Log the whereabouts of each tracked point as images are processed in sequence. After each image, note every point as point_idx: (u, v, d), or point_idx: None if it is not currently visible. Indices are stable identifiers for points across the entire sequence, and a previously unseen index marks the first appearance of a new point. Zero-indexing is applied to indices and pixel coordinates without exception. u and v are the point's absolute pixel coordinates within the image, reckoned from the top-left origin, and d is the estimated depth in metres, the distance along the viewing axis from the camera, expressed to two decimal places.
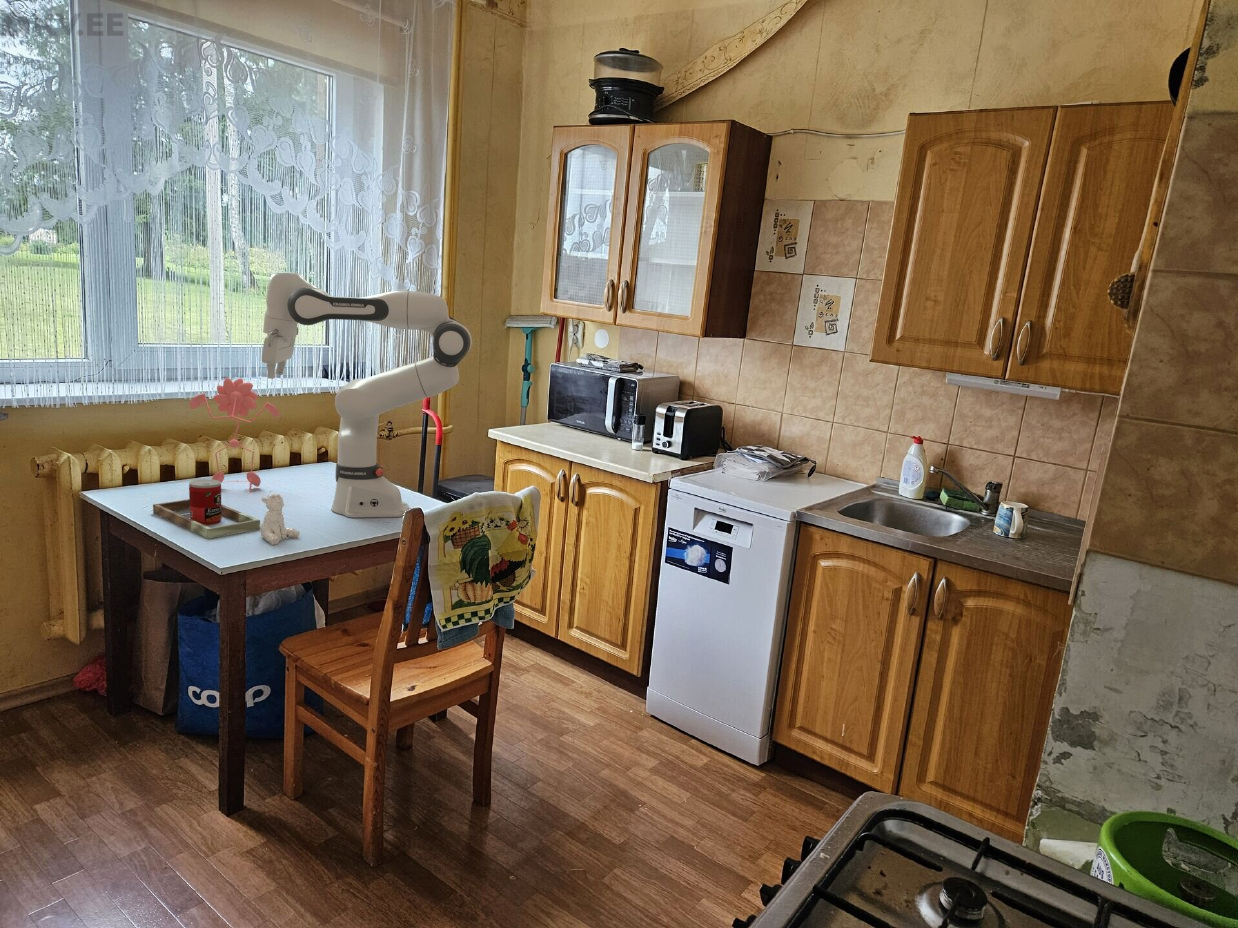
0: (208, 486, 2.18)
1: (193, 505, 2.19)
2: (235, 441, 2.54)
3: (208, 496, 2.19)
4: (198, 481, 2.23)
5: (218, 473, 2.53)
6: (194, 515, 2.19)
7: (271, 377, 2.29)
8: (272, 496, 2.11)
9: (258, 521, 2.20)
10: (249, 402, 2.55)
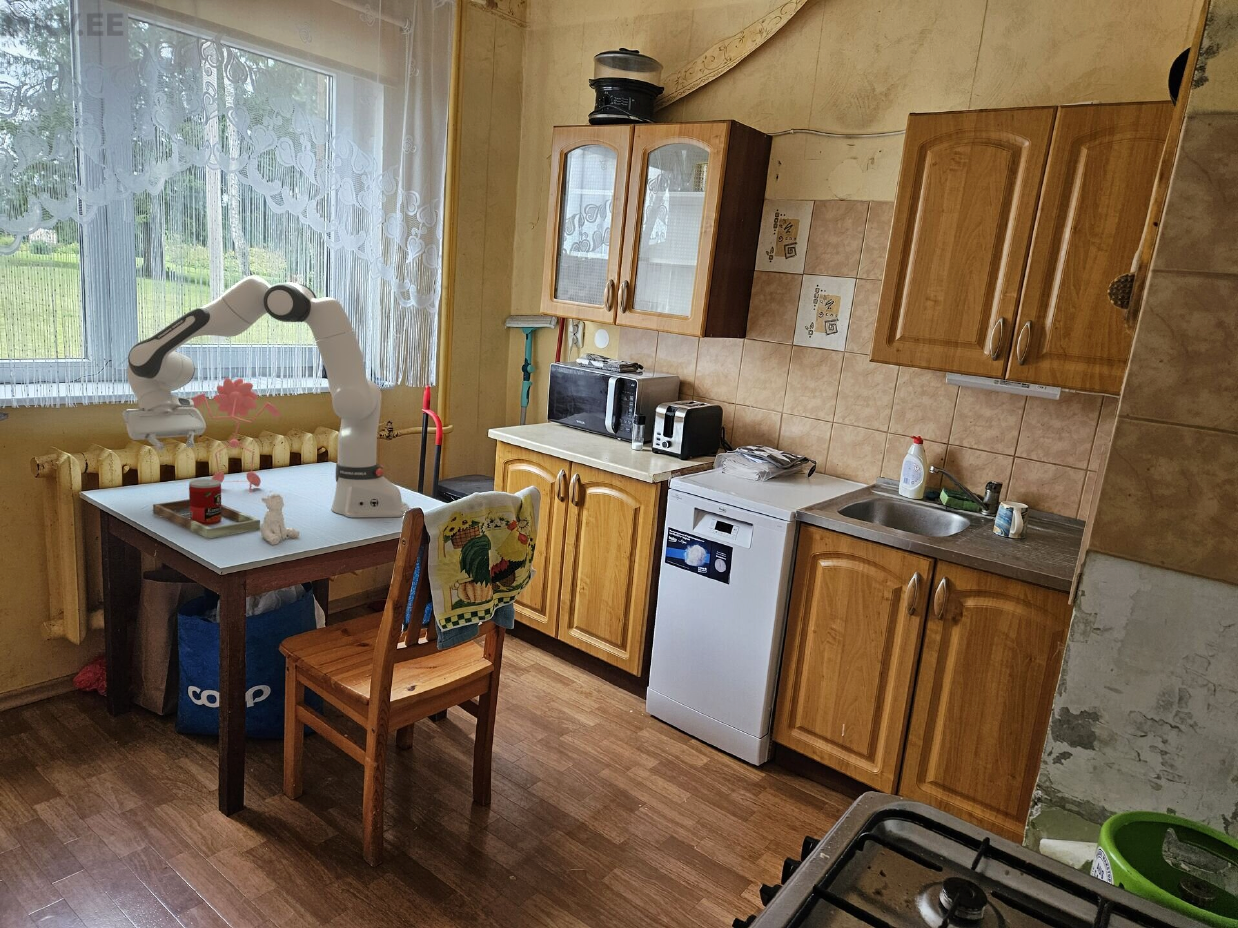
0: (208, 486, 2.18)
1: (193, 505, 2.19)
2: (235, 441, 2.54)
3: (208, 496, 2.19)
4: (198, 481, 2.23)
5: (218, 473, 2.53)
6: (194, 516, 2.19)
7: (158, 447, 2.25)
8: (272, 496, 2.11)
9: (258, 521, 2.20)
10: (249, 402, 2.55)
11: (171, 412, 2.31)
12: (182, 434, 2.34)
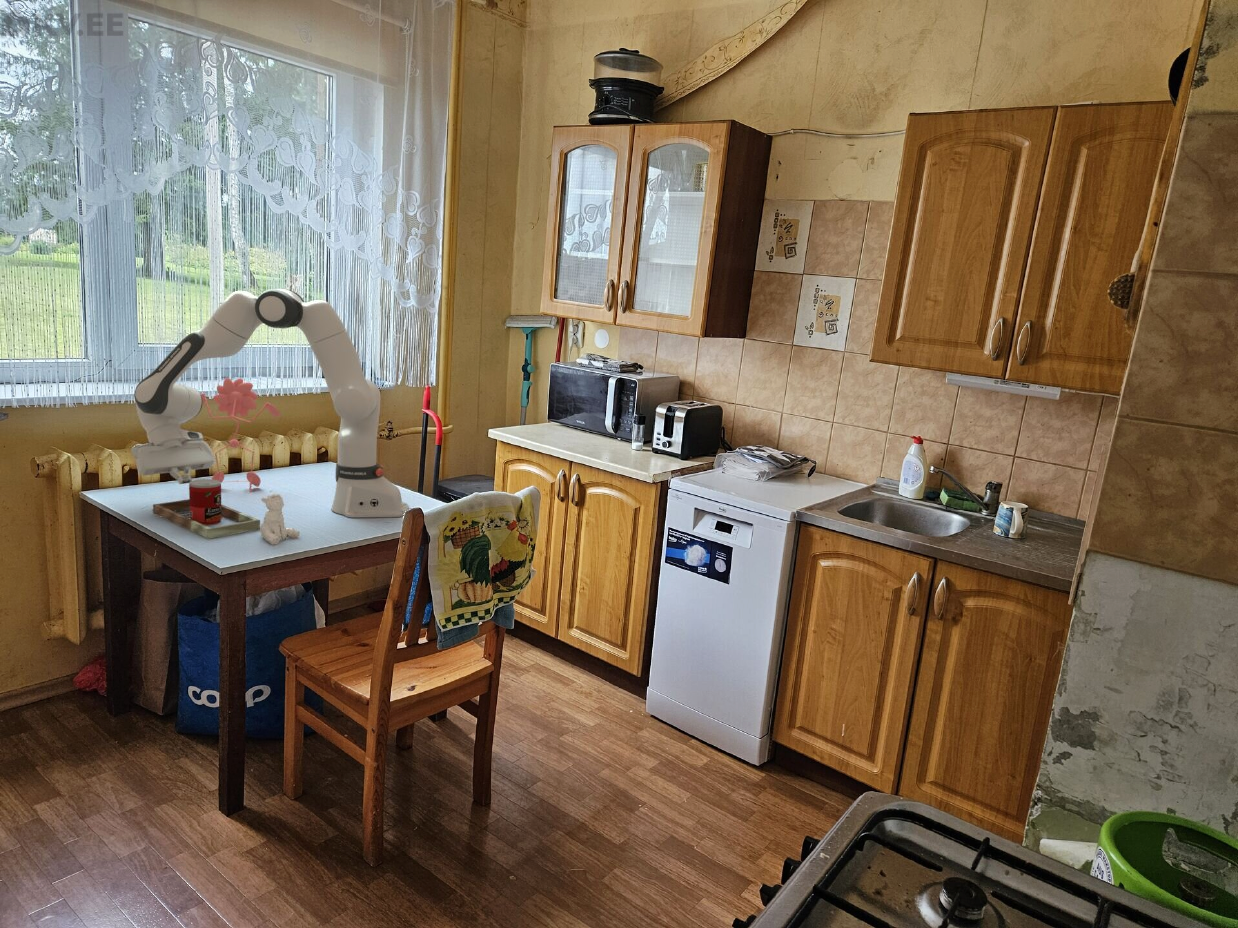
0: (208, 486, 2.18)
1: (193, 505, 2.19)
2: (235, 441, 2.54)
3: (208, 496, 2.19)
4: (198, 481, 2.23)
5: (218, 473, 2.53)
6: (194, 515, 2.19)
7: (180, 481, 2.27)
8: (272, 496, 2.11)
9: (258, 521, 2.20)
10: (249, 402, 2.55)
11: (180, 446, 2.31)
12: (191, 468, 2.33)
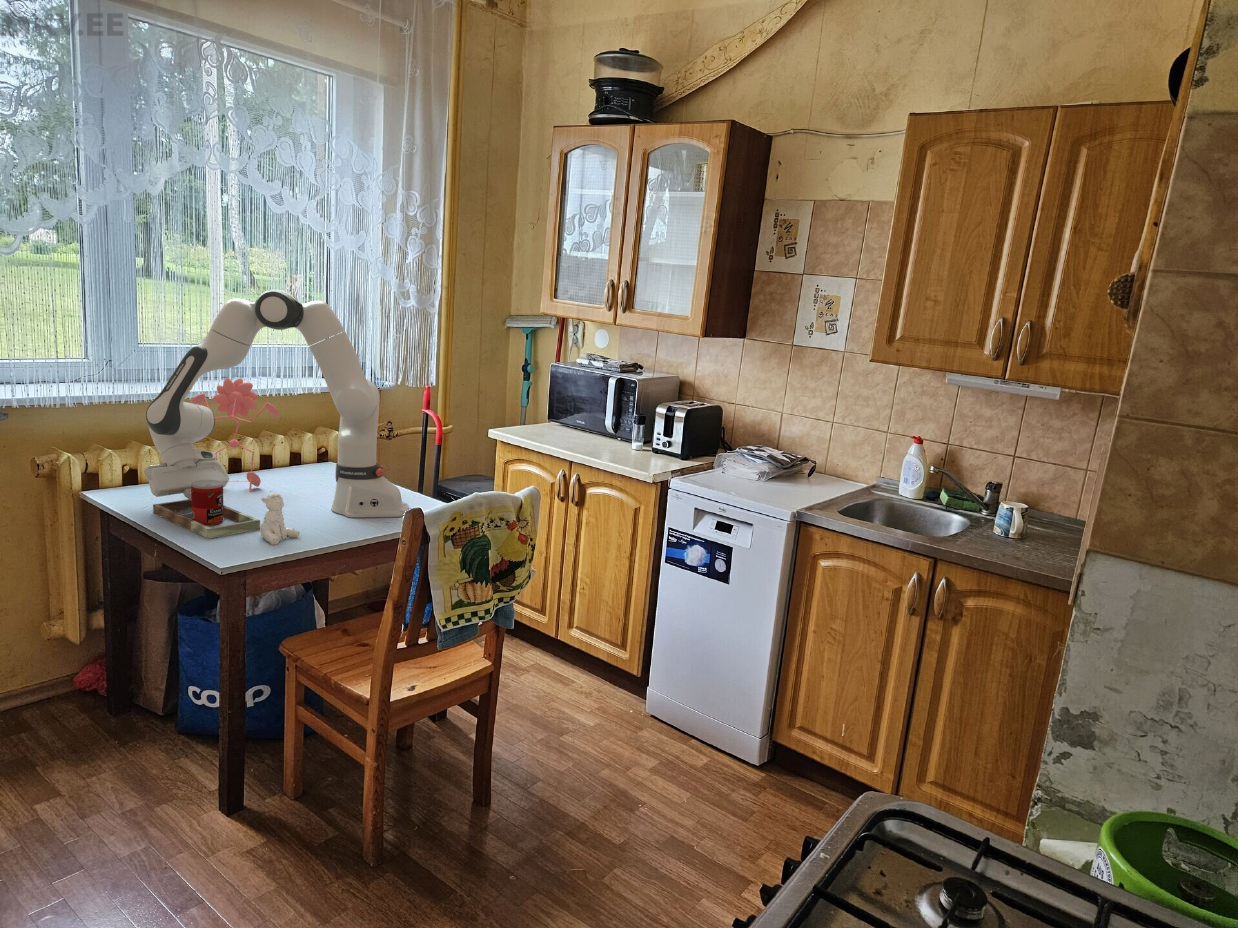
0: (210, 487, 2.18)
1: (195, 506, 2.18)
2: (235, 441, 2.54)
3: (210, 497, 2.18)
4: (200, 482, 2.22)
5: None
6: (196, 516, 2.19)
7: None
8: (272, 496, 2.11)
9: (258, 521, 2.20)
10: (249, 402, 2.55)
11: (194, 466, 2.27)
12: None
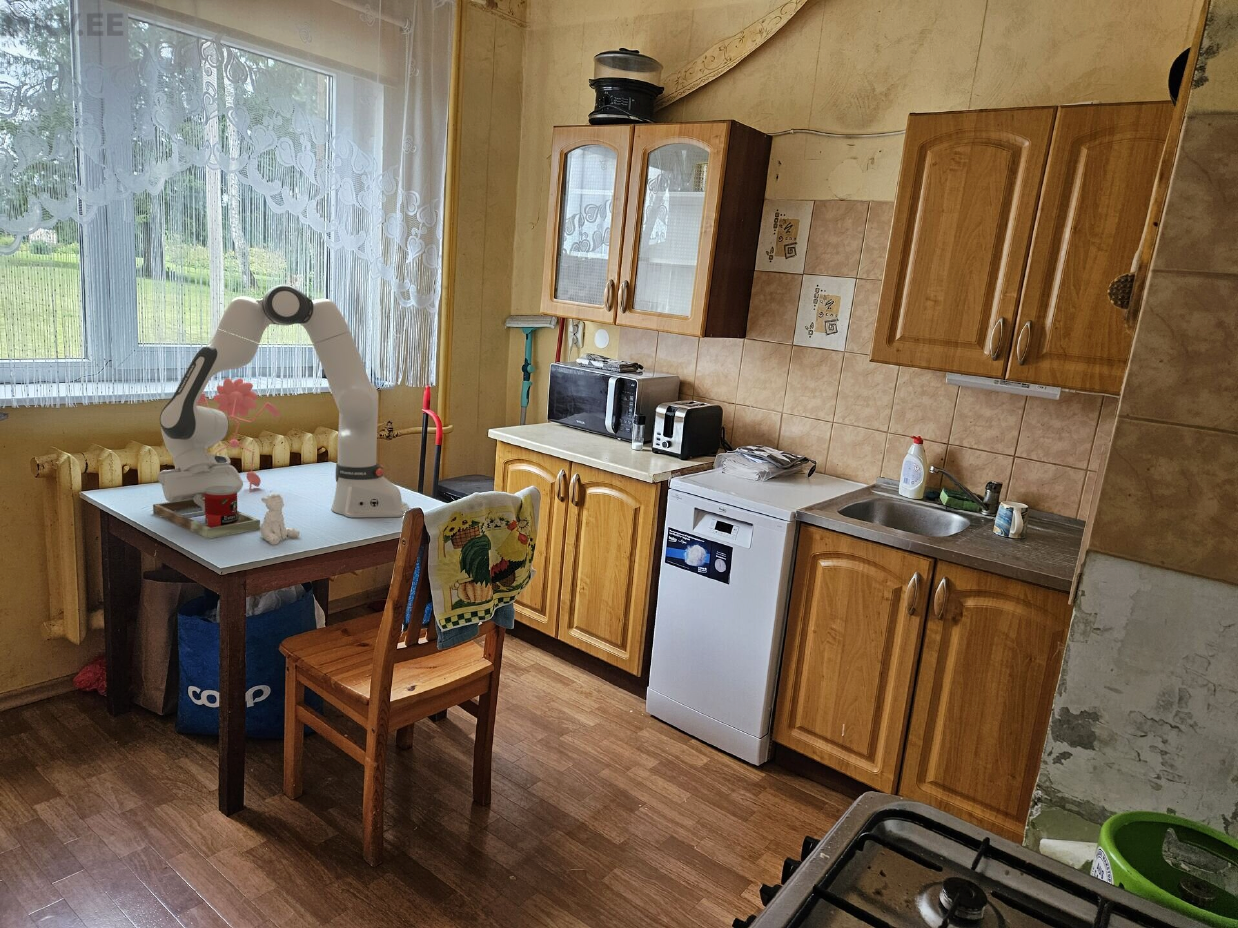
0: (224, 493, 2.13)
1: (209, 513, 2.14)
2: (235, 441, 2.54)
3: (224, 503, 2.14)
4: (214, 488, 2.17)
5: None
6: (210, 523, 2.14)
7: (204, 508, 2.18)
8: (272, 496, 2.11)
9: (258, 521, 2.20)
10: (249, 402, 2.55)
11: (208, 471, 2.23)
12: None
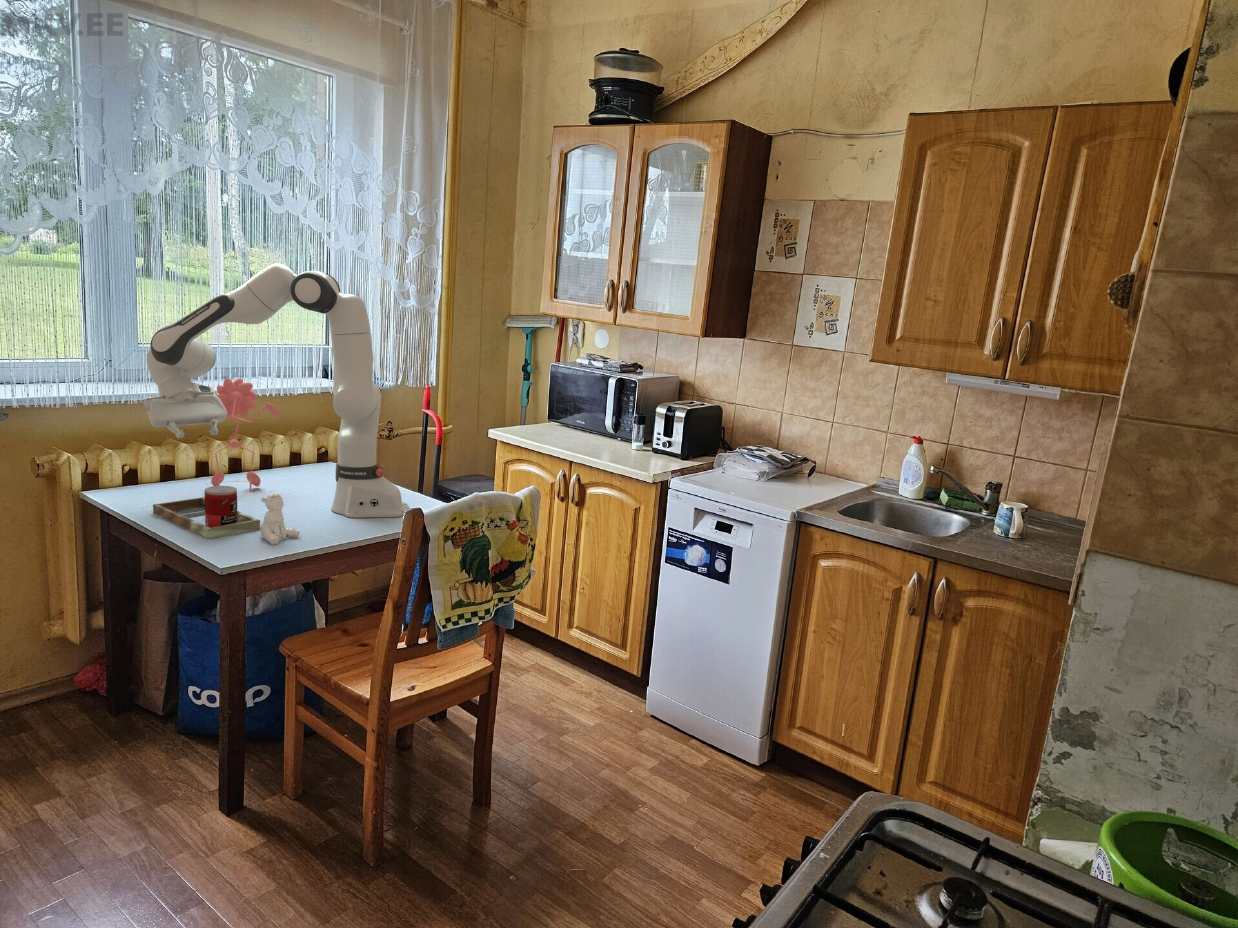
0: (224, 493, 2.13)
1: (209, 513, 2.14)
2: (235, 441, 2.54)
3: (225, 503, 2.14)
4: (214, 488, 2.17)
5: (218, 473, 2.53)
6: (210, 523, 2.14)
7: (178, 435, 2.22)
8: (272, 496, 2.11)
9: (258, 521, 2.20)
10: (249, 402, 2.55)
11: (192, 399, 2.29)
12: (203, 422, 2.31)
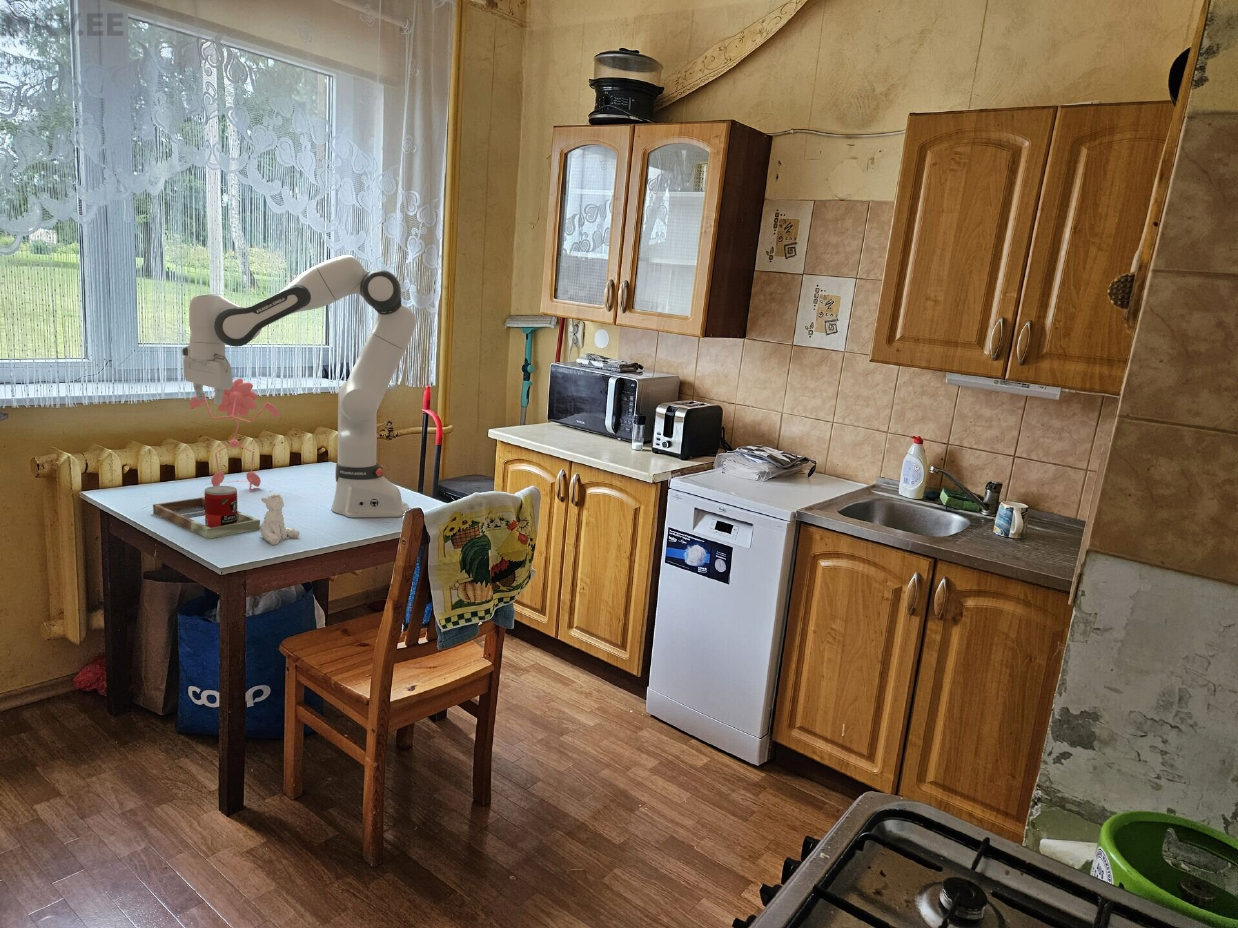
0: (224, 493, 2.13)
1: (209, 513, 2.14)
2: (235, 441, 2.54)
3: (225, 503, 2.14)
4: (214, 488, 2.17)
5: (218, 473, 2.53)
6: (210, 523, 2.14)
7: (219, 402, 2.27)
8: (272, 496, 2.11)
9: (258, 521, 2.20)
10: (249, 402, 2.55)
11: None
12: None
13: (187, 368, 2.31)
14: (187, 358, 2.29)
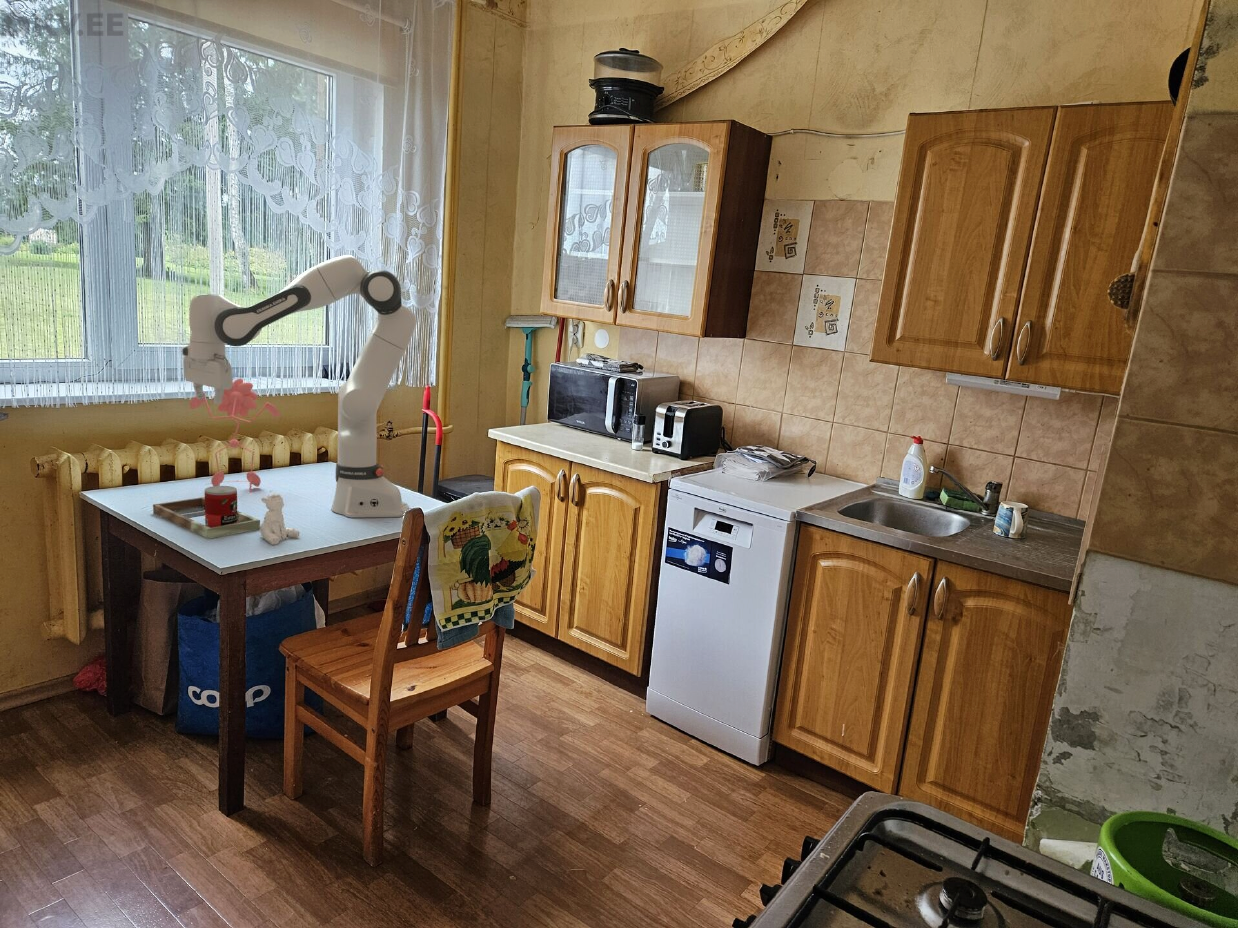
0: (224, 493, 2.13)
1: (209, 513, 2.14)
2: (235, 441, 2.54)
3: (225, 503, 2.14)
4: (214, 488, 2.17)
5: (218, 473, 2.53)
6: (210, 523, 2.14)
7: (219, 402, 2.27)
8: (272, 496, 2.11)
9: (258, 521, 2.20)
10: (249, 402, 2.55)
11: None
12: None
13: (187, 368, 2.31)
14: (187, 358, 2.29)
